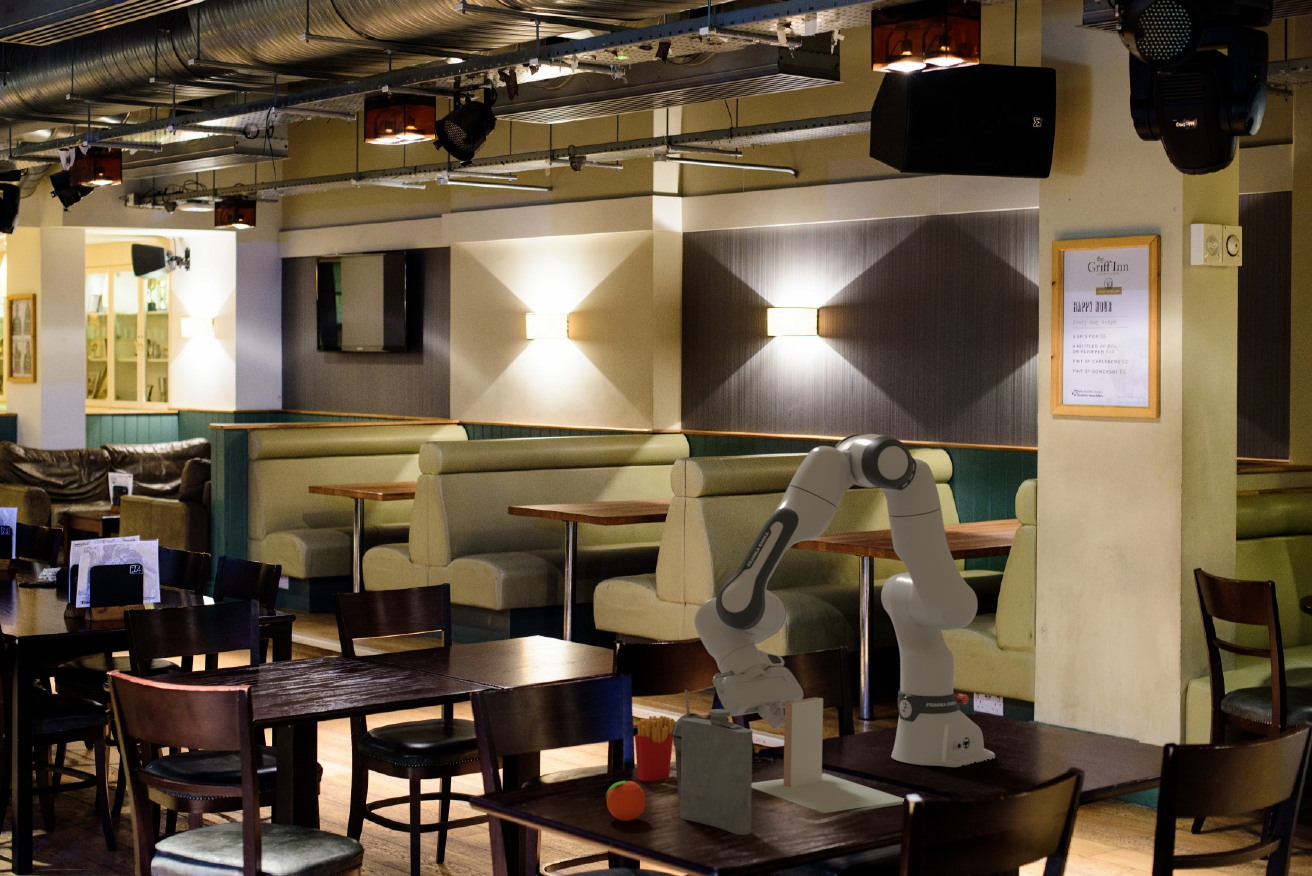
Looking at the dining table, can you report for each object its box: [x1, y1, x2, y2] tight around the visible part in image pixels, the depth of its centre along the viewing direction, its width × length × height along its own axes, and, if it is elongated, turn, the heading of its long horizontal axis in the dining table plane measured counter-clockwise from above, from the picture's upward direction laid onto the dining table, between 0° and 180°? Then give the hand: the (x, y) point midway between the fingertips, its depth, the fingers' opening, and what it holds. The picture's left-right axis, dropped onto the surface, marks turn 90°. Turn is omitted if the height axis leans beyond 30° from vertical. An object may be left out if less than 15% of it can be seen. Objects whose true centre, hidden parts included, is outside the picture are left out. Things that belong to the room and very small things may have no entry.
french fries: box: [634, 715, 676, 782], centre depth 302 cm, size 8×4×12 cm, turn 126°
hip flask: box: [679, 708, 753, 836], centre depth 268 cm, size 16×4×20 cm, turn 43°
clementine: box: [604, 779, 647, 822], centre depth 270 cm, size 8×7×7 cm
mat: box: [752, 772, 905, 814], centre depth 291 cm, size 20×25×1 cm
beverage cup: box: [672, 689, 705, 799], centre depth 288 cm, size 7×7×20 cm
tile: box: [783, 696, 824, 787], centre depth 298 cm, size 2×9×16 cm, turn 134°
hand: (780, 725), depth 302 cm, fingers closed
